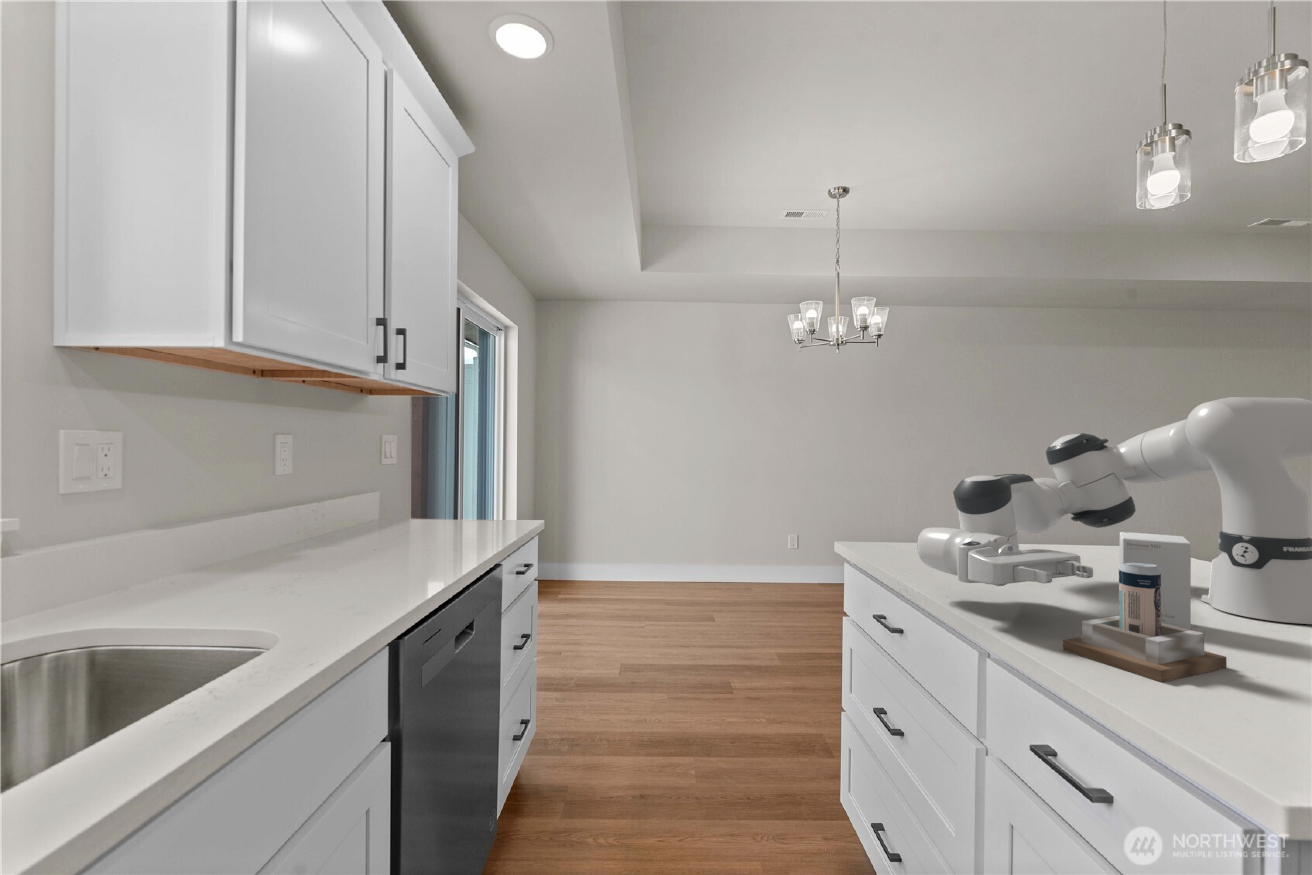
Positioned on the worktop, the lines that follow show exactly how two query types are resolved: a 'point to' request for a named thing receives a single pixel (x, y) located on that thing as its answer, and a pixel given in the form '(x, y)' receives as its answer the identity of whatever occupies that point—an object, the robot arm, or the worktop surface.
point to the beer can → (1140, 598)
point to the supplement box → (1164, 571)
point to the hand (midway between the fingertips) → (1070, 575)
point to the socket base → (1145, 650)
